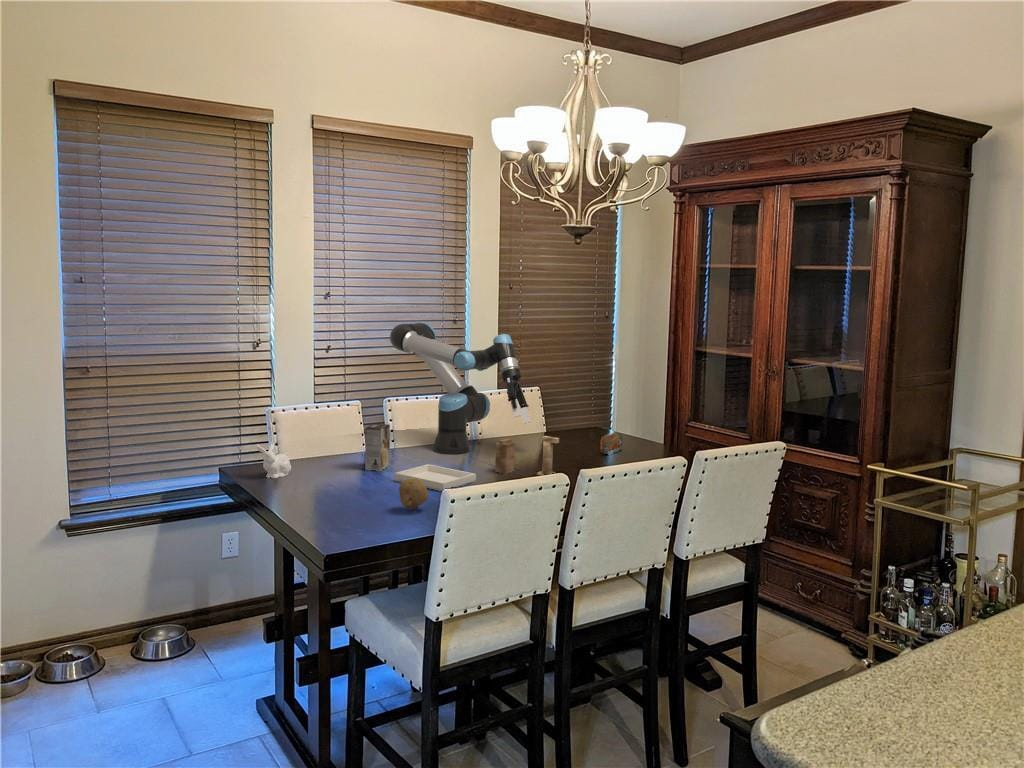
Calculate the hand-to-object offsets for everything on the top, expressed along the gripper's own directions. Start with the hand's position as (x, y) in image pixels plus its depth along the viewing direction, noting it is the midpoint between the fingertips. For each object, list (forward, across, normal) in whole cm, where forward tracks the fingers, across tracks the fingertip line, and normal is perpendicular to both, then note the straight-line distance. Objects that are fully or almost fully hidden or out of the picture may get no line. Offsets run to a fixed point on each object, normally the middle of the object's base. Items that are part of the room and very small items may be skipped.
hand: (522, 419), depth 326 cm
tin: (+18, +31, -26) cm, 44 cm away
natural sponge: (+37, -73, +24) cm, 85 cm away
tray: (+23, -41, +27) cm, 54 cm away
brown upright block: (+22, -18, +8) cm, 30 cm away
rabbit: (+8, -57, +79) cm, 98 cm away
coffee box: (+10, -32, +51) cm, 61 cm away
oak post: (+28, -16, -7) cm, 33 cm away
